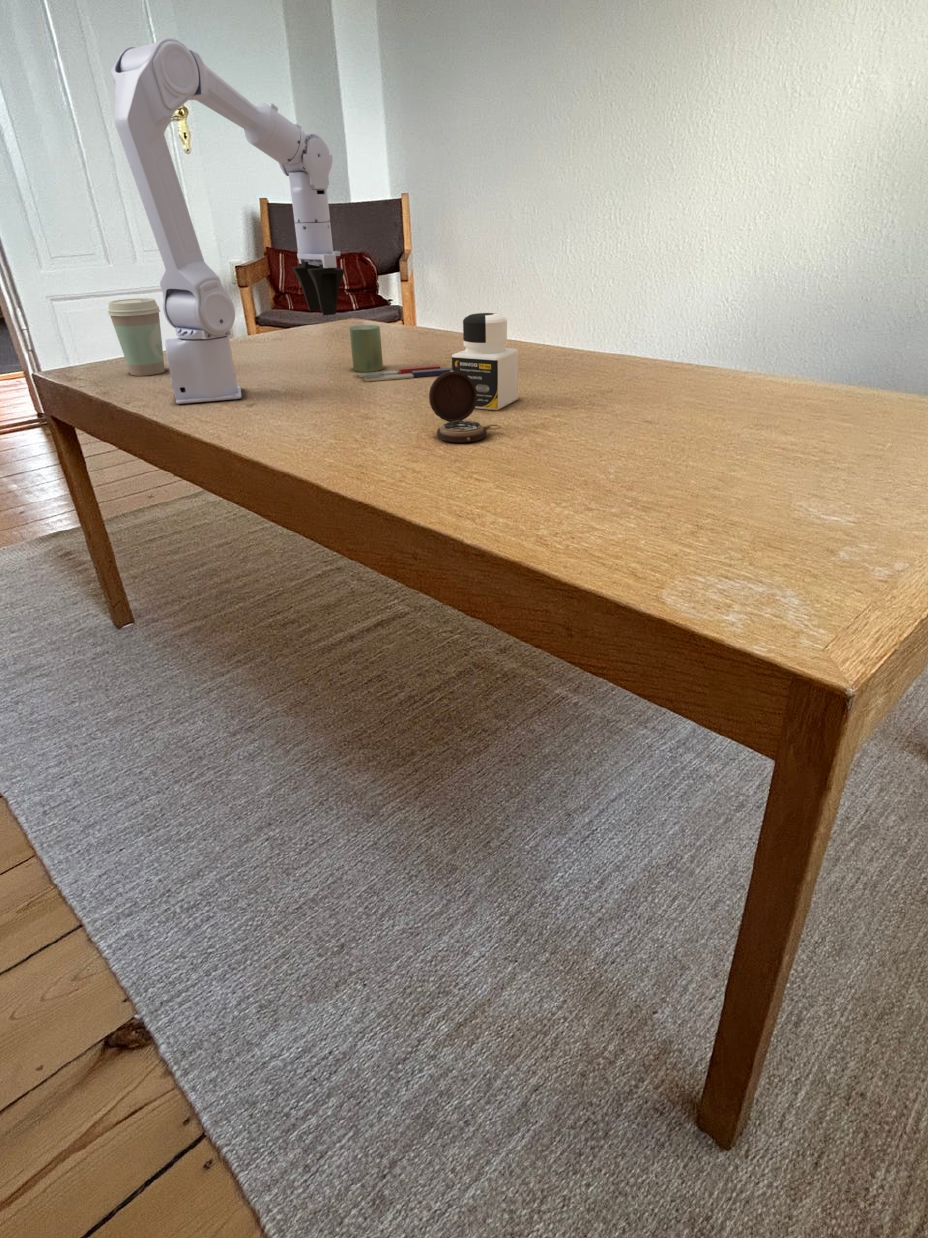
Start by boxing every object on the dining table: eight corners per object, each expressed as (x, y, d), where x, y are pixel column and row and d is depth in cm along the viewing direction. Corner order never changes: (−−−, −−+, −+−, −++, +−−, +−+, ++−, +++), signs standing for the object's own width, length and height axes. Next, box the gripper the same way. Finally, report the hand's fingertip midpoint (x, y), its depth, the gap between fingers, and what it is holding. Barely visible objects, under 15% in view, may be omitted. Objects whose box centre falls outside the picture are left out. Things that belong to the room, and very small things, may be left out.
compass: (444, 446, 90) (441, 383, 86) (429, 429, 96) (426, 371, 93) (507, 439, 91) (508, 378, 88) (489, 424, 98) (488, 366, 95)
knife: (366, 381, 123) (365, 376, 123) (364, 379, 125) (364, 374, 124) (454, 374, 127) (454, 369, 126) (451, 372, 128) (451, 367, 128)
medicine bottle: (452, 406, 107) (449, 316, 101) (475, 395, 112) (473, 309, 106) (497, 411, 104) (497, 318, 98) (518, 399, 109) (519, 311, 103)
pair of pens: (360, 377, 126) (359, 372, 126) (358, 375, 128) (358, 370, 127) (440, 371, 129) (440, 366, 129) (438, 369, 131) (438, 364, 130)
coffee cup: (162, 376, 131) (146, 302, 125) (114, 377, 131) (96, 304, 126) (179, 367, 139) (165, 297, 133) (134, 368, 139) (117, 298, 133)
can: (355, 372, 130) (351, 330, 126) (351, 367, 134) (347, 325, 131) (385, 370, 131) (382, 328, 127) (380, 365, 135) (377, 324, 132)
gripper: (350, 221, 117) (359, 314, 124) (322, 221, 129) (331, 306, 135) (307, 223, 115) (317, 318, 121) (282, 222, 126) (293, 309, 133)
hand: (322, 312), depth 128 cm, fingers open, 7 cm apart
